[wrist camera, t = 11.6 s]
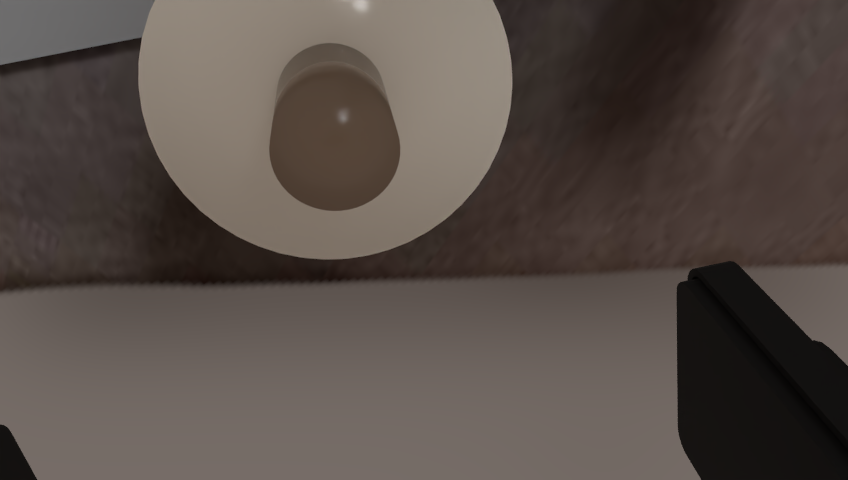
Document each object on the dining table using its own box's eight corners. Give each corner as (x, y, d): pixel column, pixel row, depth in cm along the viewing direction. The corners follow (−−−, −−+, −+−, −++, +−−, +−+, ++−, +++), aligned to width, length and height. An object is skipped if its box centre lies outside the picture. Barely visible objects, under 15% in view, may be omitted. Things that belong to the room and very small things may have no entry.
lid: (90, -67, 23) (22, -37, 18) (481, -141, 24) (531, -134, 18) (207, 273, 29) (182, 374, 24) (521, 208, 30) (569, 293, 24)
